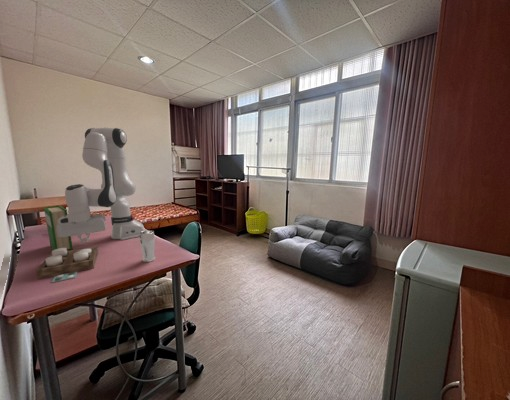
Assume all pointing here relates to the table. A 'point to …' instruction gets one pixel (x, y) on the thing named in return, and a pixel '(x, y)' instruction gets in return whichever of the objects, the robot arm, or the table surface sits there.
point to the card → (64, 277)
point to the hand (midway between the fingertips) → (85, 241)
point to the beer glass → (147, 245)
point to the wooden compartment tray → (68, 264)
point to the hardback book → (51, 220)
